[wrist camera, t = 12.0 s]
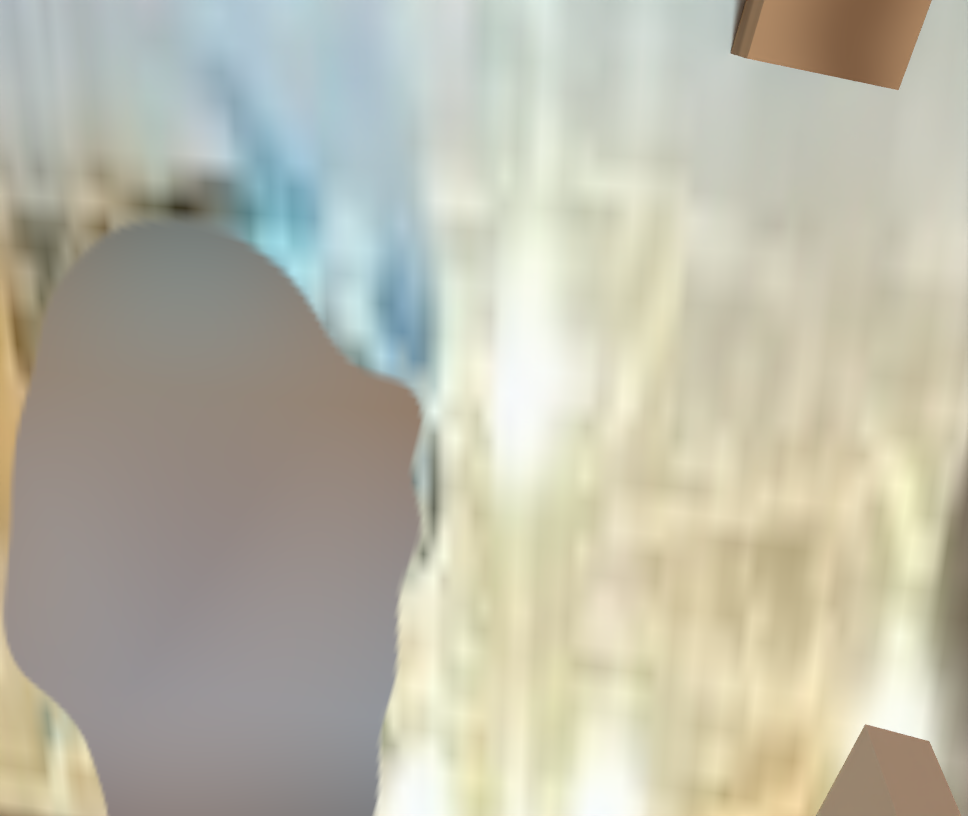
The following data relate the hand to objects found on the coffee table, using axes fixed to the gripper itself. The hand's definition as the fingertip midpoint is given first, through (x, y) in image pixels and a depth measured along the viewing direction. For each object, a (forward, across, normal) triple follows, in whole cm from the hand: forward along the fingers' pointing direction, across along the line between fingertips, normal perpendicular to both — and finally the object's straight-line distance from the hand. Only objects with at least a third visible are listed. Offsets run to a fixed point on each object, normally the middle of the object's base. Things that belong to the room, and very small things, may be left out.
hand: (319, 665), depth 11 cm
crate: (+29, +8, +10) cm, 32 cm away
